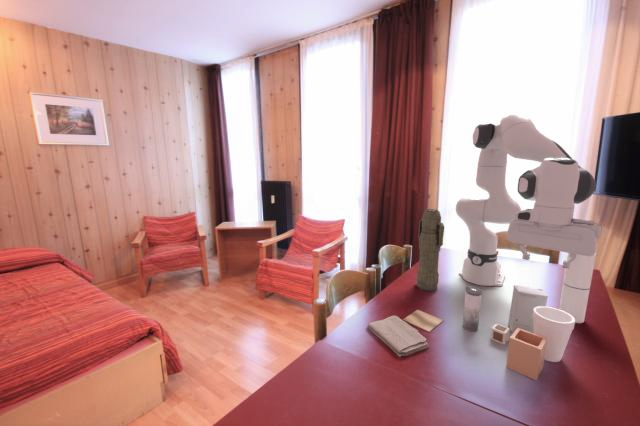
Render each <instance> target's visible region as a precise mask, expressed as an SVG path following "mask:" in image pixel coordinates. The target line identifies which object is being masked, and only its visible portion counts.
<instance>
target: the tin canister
mask: <svg viewBox="0 0 640 426" xmlns="http://www.w3.org/2000/svg"><path fill="white" fill-rule="evenodd" d="M464 290H465V294H464V302H463V303H464V305H463V313H462V314H463V317H462V328H463V329H464V330H466V331H469V332H477V331H479V324H480V317H481V316H480V314H481V306H482V305H481V304H482V295H483V289H481V288H480V287H478V286H474V285H473V286H472V285H468V286H466V287H465V289H464Z"/></svg>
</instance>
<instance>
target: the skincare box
mask: <svg viewBox="0 0 640 426" xmlns="http://www.w3.org/2000/svg"><path fill="white" fill-rule="evenodd" d="M548 297H549V296H548V295H547V293H545V291H544V290H543V289H542V288H535V287H530V286H525V285H523V286H522V285H516V284H515V285H513V290H512V297H511V304H510V309H509V315H508V316H509V317H508V323H507V325H508V328H510V332H511V334H513V333H514V332H515V330H516V329H517V328H520V329H523V330H526V331H528V332H531V333H534V325H533V310H534V308H535V307H537V306H546V307H547V301H548Z"/></svg>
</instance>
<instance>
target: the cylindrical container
mask: <svg viewBox="0 0 640 426" xmlns="http://www.w3.org/2000/svg"><path fill="white" fill-rule="evenodd" d="M596 256H597V253H596V254H595V255H593V256H591V257H589V256H583V255H578V256H577V258H576V259H575V260H573V261H572V262H571V266H570V269H567V268H564V276H563V282H562V288H561V294H560V302H559V308H558V309H559V310H562V311H564V312H567V313H569V314H570V315H572V316H573V317H574V318H575V324H582V323H584V322H585V317H586V312H587V308H588V307H587V306H588V301H589V296H590V289H591V284H592V279H593V274H594V269H595V268H594V267H595V263H596ZM571 258H572V257H570V253H567V256H566V261H569V260H570V259H571Z"/></svg>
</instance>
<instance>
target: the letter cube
mask: <svg viewBox="0 0 640 426" xmlns="http://www.w3.org/2000/svg"><path fill="white" fill-rule="evenodd" d="M510 332H511V330H510V327H507V326H504V325H502V324H500V323H497V322H496V323H495V324H494V325H493V326H492V327H491V332H490V337H489V338H490V340H492V341H493V342H496V343H498V344H501V345H503V346H505V345H506V343H507V342H509V340H510Z"/></svg>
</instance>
